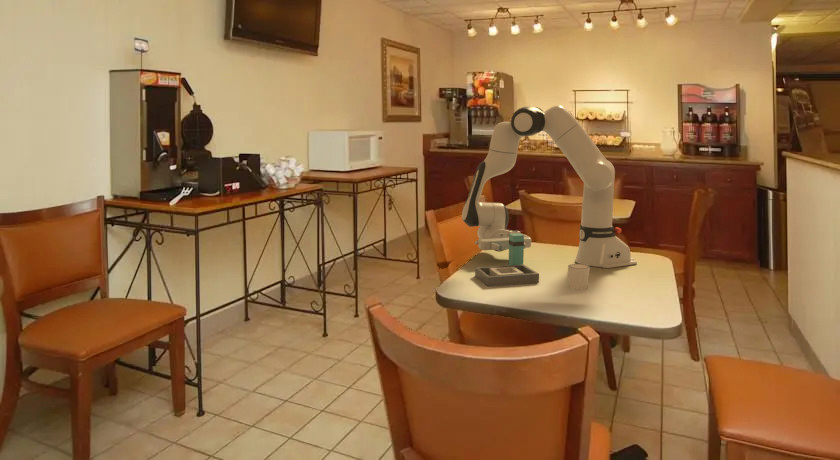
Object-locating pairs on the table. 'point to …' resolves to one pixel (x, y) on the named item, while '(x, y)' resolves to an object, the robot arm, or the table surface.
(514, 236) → the plug
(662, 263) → the table surface
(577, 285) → the beige cylinder
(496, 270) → the grey tray
